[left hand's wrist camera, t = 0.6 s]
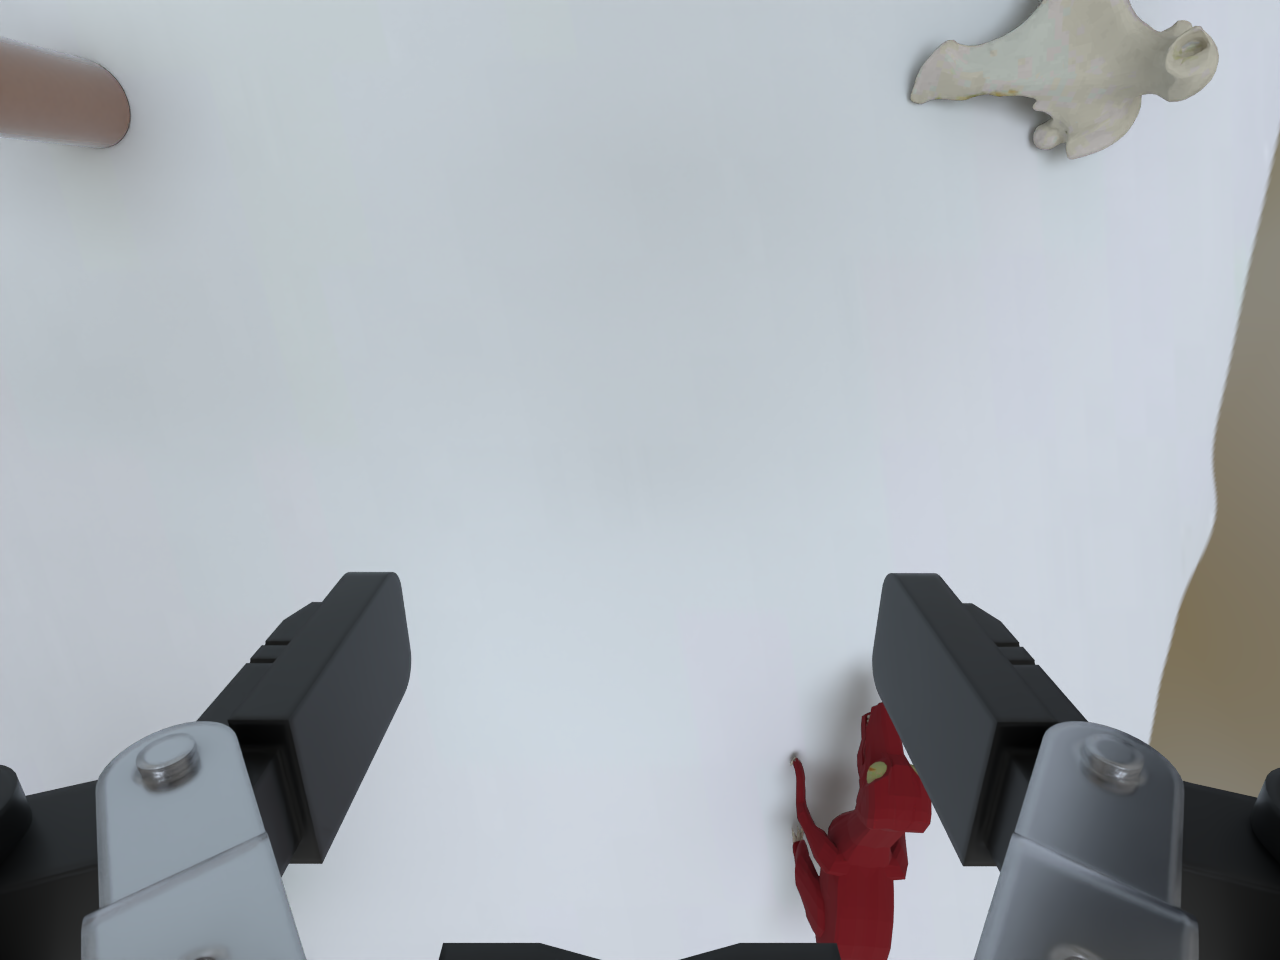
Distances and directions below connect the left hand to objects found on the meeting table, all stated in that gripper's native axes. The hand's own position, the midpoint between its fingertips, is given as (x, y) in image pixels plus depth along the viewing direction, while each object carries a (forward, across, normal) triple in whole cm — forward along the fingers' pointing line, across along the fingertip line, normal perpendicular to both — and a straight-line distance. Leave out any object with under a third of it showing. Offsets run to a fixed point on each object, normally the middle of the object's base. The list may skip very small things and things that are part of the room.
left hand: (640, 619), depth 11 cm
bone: (+29, -19, -14) cm, 38 cm away
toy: (+29, -14, +35) cm, 48 cm away
